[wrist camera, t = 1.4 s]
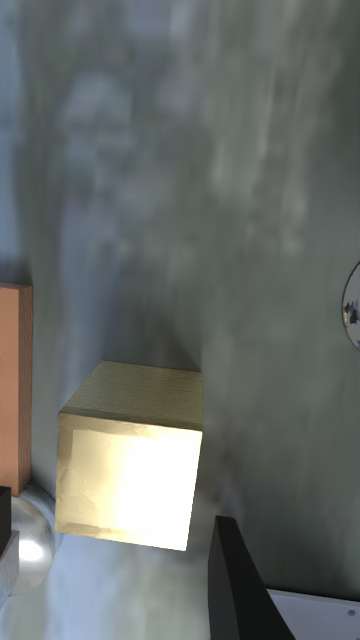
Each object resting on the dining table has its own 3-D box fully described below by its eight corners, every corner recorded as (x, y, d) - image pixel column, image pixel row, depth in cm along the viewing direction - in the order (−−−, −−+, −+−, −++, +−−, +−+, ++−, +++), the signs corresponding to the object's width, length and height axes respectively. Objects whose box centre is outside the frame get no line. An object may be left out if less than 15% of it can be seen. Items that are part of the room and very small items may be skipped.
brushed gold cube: (201, 372, 19) (202, 432, 13) (189, 461, 20) (185, 550, 15) (101, 359, 19) (58, 412, 13) (95, 448, 21) (54, 531, 15)
